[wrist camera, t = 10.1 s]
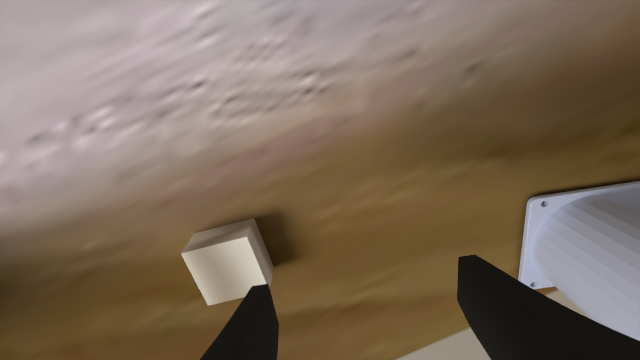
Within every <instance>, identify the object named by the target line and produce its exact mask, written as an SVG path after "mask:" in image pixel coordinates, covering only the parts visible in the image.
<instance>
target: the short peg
mask: <svg viewBox="0 0 640 360" xmlns="http://www.w3.org/2000/svg"><path fill="white" fill-rule="evenodd" d="M181 255H182V257H183V259H184V261H185V262H186V264H187V266H188V268H189V270H190V272H191V274H192V276H193V278H194V280H195V281H196V283H197V285H198V287H199V289H200V291H201V293H202V295H203V297H204V299H205V300H206V302H207V304H208V306H209V305H213V304H217V303H221V302H225V301H229V300H234V299H238V298H242V297H245V296H246V294H247V293H248V291H249V290H250V288H251V287H252V286H256V285H263V284H268V285H269V289H270V285H271V280H272V274H273V269H274V267H273V264H272V262H271V259H270V257H269V254H268V252H267V249H266V247H265V244H264V242H263V239H262V237H261V234H260V232H259V229H258V227H257V224H256V222H255V219H254V218H251V219H247V220H243V221H239V222H235V223H231V224H228V225H224V226H220V227H216V228H212V229H208V230H205V231H201V232H197V233H195V234H194V235H193V237H192V238H191V240H190V241H189V242H188V244H187V245H186V247H185V248H184V250H183V251H182V253H181Z"/></svg>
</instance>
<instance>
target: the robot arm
mask: <svg viewBox="0 0 640 360" xmlns="http://www.w3.org/2000/svg"><path fill="white" fill-rule="evenodd" d="M543 201H544V203H543V204H542V202H543ZM541 204H542V205H541ZM553 286H555V287H556V288H557V289H559V290H560V291H561V292H562V293H563V294H564V295H565V296H566V297H568V298H569V299H570V300H571V301H572V302H573V303H574V304H575V305H577V306H578V307H579V308H580V309H581V310H582V311H583V312H584V313H586V314H587V315H588V316H589V317H590V318H591V319H592V320H591V319H589V318H587V317H585V316H583V315H581V314H579V313H577V312H575V311H573V310H571V309H569V308H567V307H565V306H563V305H561V304H559V303H558V302H556V301H553V300H552V299H550V298H548V297H546V296H544V295H543V294H541V293H539V292H537V291H536V290H534V289H539V288H546V287H553ZM457 300H458V303H459V305H460V307H461V309H462V311H463V313H464V315H465V317H466V319H467V321H468V323H469V325H470V327H471V329H472V330H473V332H474V333H475V335H476V336H477V338H478V340H479V341H480V343H481V344H482V346H483V348H484V349H485V351H486V352H487V354H488V355H489V357H490V358H491V360H640V181H636V182H629V183H622V184H615V185H609V186H602V187H595V188H589V189H582V190H575V191H568V192H562V193H555V194H548V195H541V196H535V197H532V198H531V199H529V201H528V202H527V208H526V217H525V226H524V234H523V243H522V252H521V260H520V269H519V278H518V280H517V279H515V278H513V277H512V276H510V275H508V274H507V273H505V272H503V271H502V270H500V269H498V268H497V267H495V266H493V265H492V264H490V263H488V262H487V261H485V260H483V259H482V258H480V257H478V256H476V255H470V256H463V257H459V261H458V292H457ZM278 331H279V324H278V320H277V316H276V312H275V308H274V304H273V300H272V296H271V292H270V289H269V285H268V284H263V285H256V286H252V287H251V288H250V290H249V291H248V293H247V294H246V296H245V297H244V299H243V300H242V302H241V303H240V305H239V307H238V308H237V310H236V311H235V312H234V314H233V315H232V317H231V318H230V320H229V321H228V323H227V324H226V325H225V327H224V328H223V330H222V331H221V333H220V334H219V335H218V337H217V338H216V339H215V341H214V342H213V343H212V344H211V346H210V347H209V348H208V350H207V351H206V352H205V353H204V355H203V356H202V357H201V359H200V360H276V359H277V352H278Z"/></svg>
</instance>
